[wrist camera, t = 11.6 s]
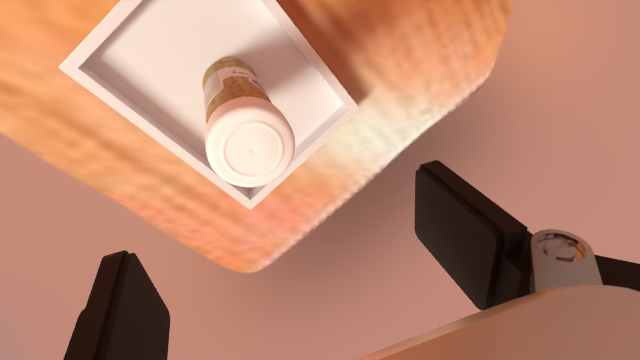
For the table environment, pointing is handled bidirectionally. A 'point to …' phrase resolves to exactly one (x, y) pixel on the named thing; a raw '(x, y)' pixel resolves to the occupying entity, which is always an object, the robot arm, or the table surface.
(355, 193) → the table surface
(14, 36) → the table surface
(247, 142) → the sprinkles bottle
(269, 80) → the tray
